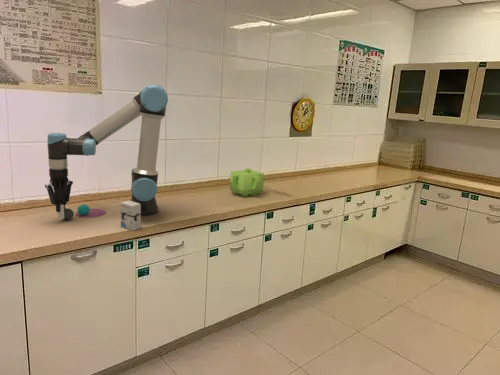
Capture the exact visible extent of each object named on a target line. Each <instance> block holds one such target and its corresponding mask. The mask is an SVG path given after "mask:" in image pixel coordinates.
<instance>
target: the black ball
mask: <svg viewBox="0 0 500 375" xmlns="http://www.w3.org/2000/svg"><path fill="white" fill-rule="evenodd" d="M74 215H75V214H74V210H72V209H71V208H69V207H67V208H66V207H65V211H64V218H63V219H62V220H64V221H70V220H71V219H73V217H74Z"/></svg>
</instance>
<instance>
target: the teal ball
mask: <svg viewBox="0 0 500 375" xmlns="http://www.w3.org/2000/svg"><path fill="white" fill-rule="evenodd" d="M90 209H91V208H90V206H88V204H86V203H85V204H80V205H79V206H78V207H77V210H76V212H78V213H79V214H80V215H82V216H84V215H87V214H88V213H89V211H90Z"/></svg>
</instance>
